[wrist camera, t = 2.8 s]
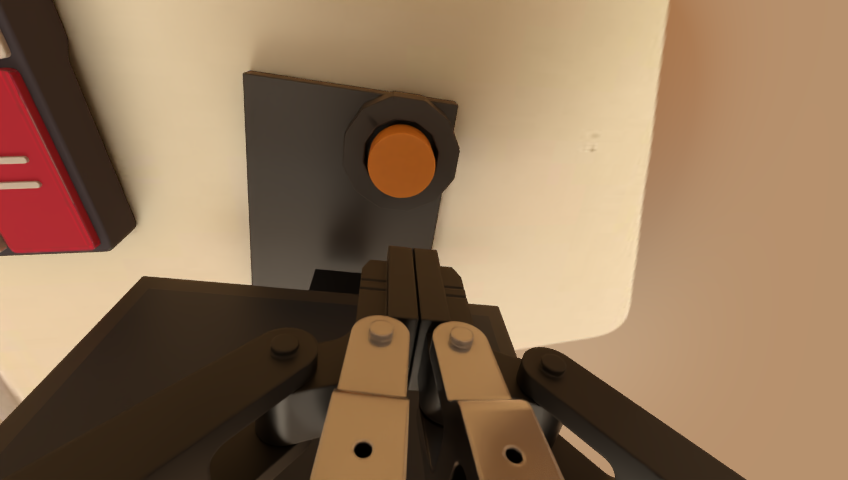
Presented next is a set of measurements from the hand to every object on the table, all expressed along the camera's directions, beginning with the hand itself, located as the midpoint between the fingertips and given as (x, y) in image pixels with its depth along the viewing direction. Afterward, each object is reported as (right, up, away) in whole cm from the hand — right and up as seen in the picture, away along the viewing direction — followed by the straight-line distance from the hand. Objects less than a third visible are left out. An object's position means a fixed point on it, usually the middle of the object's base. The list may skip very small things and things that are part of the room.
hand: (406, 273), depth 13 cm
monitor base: (-5, +3, +15) cm, 16 cm away
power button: (-1, +6, +11) cm, 12 cm away
